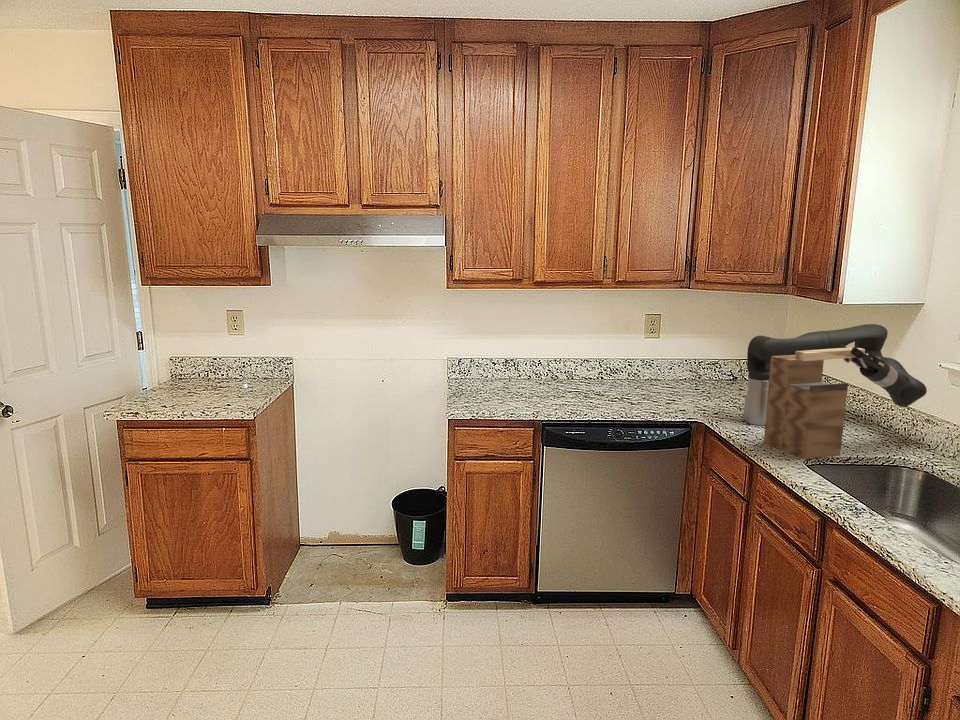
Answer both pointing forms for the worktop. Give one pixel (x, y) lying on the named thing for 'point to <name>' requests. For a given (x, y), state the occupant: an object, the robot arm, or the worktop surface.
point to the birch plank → (825, 354)
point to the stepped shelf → (804, 409)
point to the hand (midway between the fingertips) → (846, 348)
